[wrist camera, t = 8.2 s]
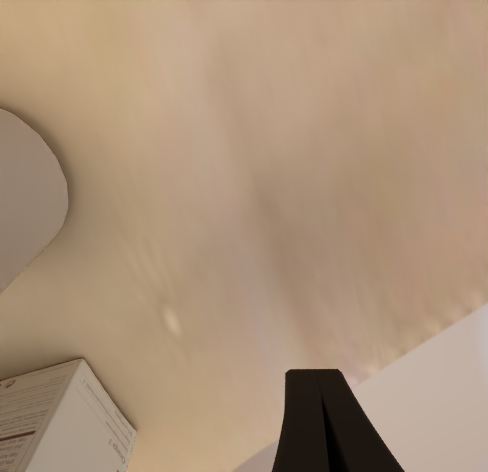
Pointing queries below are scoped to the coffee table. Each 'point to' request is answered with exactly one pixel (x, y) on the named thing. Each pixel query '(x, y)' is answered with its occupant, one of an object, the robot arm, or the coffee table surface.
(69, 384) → the white packaging box
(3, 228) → the can
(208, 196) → the coffee table surface
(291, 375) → the robot arm
